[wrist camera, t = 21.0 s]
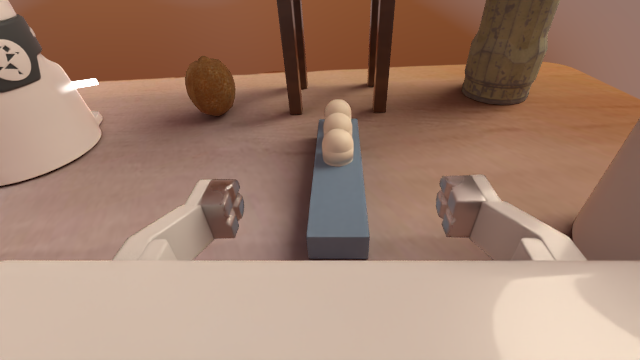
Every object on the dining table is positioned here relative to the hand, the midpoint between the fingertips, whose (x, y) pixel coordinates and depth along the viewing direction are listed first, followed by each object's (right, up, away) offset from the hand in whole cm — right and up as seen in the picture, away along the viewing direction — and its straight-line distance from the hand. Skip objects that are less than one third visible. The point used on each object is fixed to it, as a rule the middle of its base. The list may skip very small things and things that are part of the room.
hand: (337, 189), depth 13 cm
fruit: (-15, +10, +31) cm, 36 cm away
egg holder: (+1, 0, +17) cm, 17 cm away
